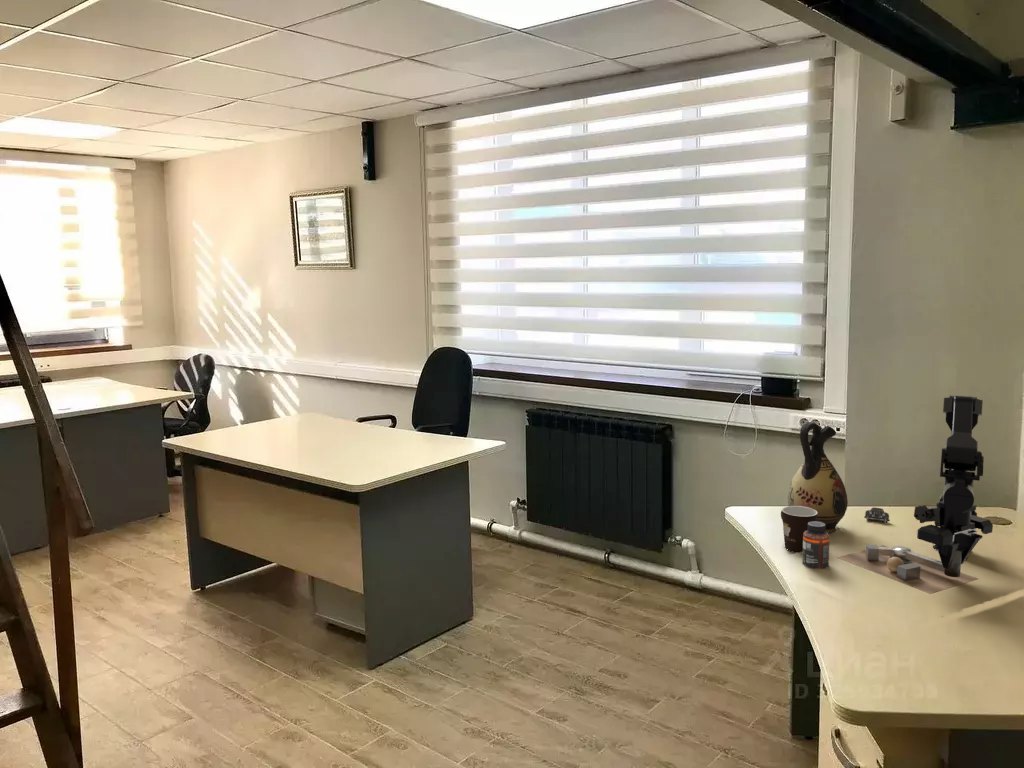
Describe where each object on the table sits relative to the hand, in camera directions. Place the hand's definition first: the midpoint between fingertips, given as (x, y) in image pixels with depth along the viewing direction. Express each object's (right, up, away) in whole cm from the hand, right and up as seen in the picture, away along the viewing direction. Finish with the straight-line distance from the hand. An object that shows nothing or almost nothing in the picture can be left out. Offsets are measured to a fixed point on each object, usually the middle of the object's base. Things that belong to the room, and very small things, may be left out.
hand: (952, 566), depth 183 cm
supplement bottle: (-27, -3, +11) cm, 29 cm away
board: (-7, -3, +8) cm, 11 cm away
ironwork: (-8, -2, +7) cm, 11 cm away
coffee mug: (-26, -1, +26) cm, 37 cm away
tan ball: (-11, -3, +5) cm, 12 cm away
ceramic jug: (-16, +1, +40) cm, 43 cm away
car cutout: (+7, +1, +43) cm, 44 cm away
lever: (-6, -2, +7) cm, 10 cm away
